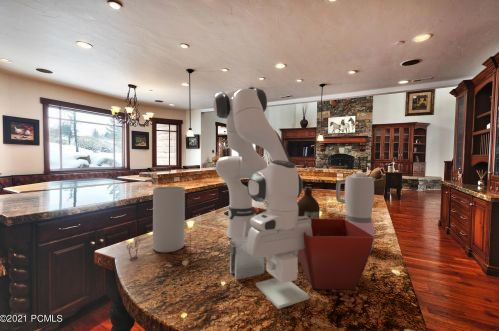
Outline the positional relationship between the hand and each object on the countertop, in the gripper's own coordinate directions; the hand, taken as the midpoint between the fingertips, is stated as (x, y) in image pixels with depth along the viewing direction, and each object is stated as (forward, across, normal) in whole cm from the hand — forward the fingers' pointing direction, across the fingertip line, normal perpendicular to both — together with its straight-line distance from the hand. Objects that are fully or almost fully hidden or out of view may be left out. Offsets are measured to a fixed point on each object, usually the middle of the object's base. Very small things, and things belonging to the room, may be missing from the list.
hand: (281, 267), depth 66 cm
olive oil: (+7, -35, -30) cm, 47 cm away
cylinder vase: (+7, +24, -48) cm, 54 cm away
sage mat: (+7, 0, 0) cm, 7 cm away
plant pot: (+7, -18, 0) cm, 19 cm away
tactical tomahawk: (+8, -19, -20) cm, 29 cm away
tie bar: (0, +4, -14) cm, 14 cm away
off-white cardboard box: (+2, 0, 0) cm, 2 cm away
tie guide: (+7, +4, -14) cm, 16 cm away
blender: (+7, -48, -15) cm, 51 cm away
